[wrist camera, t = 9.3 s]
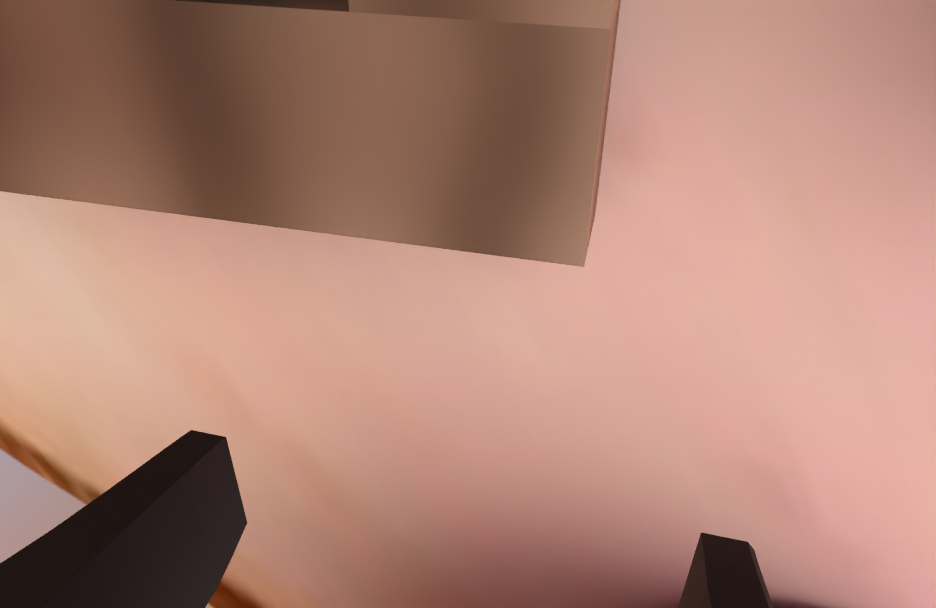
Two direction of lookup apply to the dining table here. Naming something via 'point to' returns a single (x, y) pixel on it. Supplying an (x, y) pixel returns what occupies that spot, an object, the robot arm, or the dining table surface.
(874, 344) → the dining table surface
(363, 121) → the block with rectangular hole
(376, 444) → the dining table surface
